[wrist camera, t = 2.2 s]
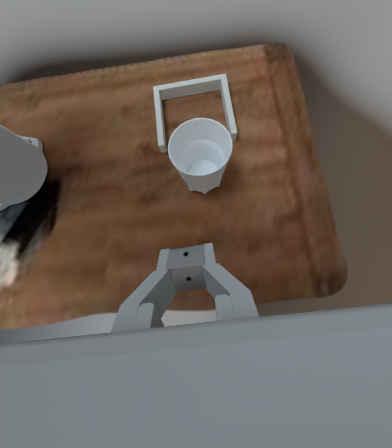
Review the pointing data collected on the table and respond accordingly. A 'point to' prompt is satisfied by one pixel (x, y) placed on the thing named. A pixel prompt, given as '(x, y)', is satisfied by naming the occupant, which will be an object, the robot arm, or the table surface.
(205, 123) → the cup
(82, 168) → the table surface
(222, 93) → the white u-shaped frame
